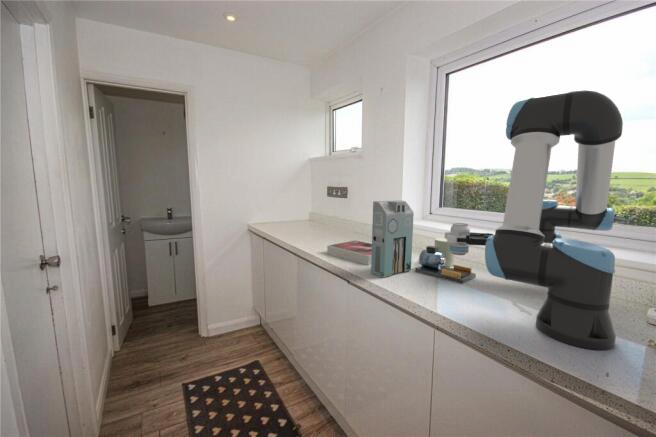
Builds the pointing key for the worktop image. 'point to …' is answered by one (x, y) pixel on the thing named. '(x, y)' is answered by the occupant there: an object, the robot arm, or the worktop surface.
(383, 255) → the device
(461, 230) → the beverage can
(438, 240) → the can
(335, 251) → the product packaging
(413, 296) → the worktop surface
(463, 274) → the motor
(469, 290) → the worktop surface
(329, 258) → the worktop surface
